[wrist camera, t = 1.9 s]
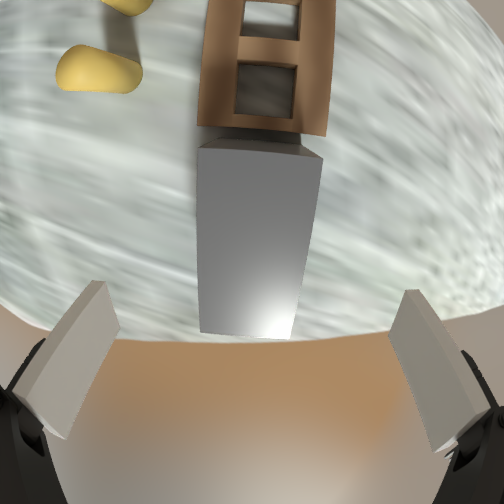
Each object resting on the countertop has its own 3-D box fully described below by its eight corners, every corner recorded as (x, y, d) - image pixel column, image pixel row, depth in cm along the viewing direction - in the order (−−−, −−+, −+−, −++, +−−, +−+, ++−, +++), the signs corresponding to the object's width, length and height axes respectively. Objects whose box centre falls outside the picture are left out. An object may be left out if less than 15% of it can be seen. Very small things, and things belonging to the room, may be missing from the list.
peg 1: (110, 95, 23) (53, 94, 15) (112, 63, 22) (58, 51, 13) (141, 91, 23) (90, 85, 15) (144, 58, 22) (95, 39, 13)
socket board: (202, 125, 25) (196, 125, 23) (215, -8, 18) (211, -17, 16) (320, 135, 26) (325, 136, 23) (330, 2, 18) (335, -6, 16)
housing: (214, 275, 34) (200, 332, 25) (219, 137, 26) (197, 148, 17) (282, 281, 34) (289, 339, 25) (301, 144, 26) (323, 158, 17)
